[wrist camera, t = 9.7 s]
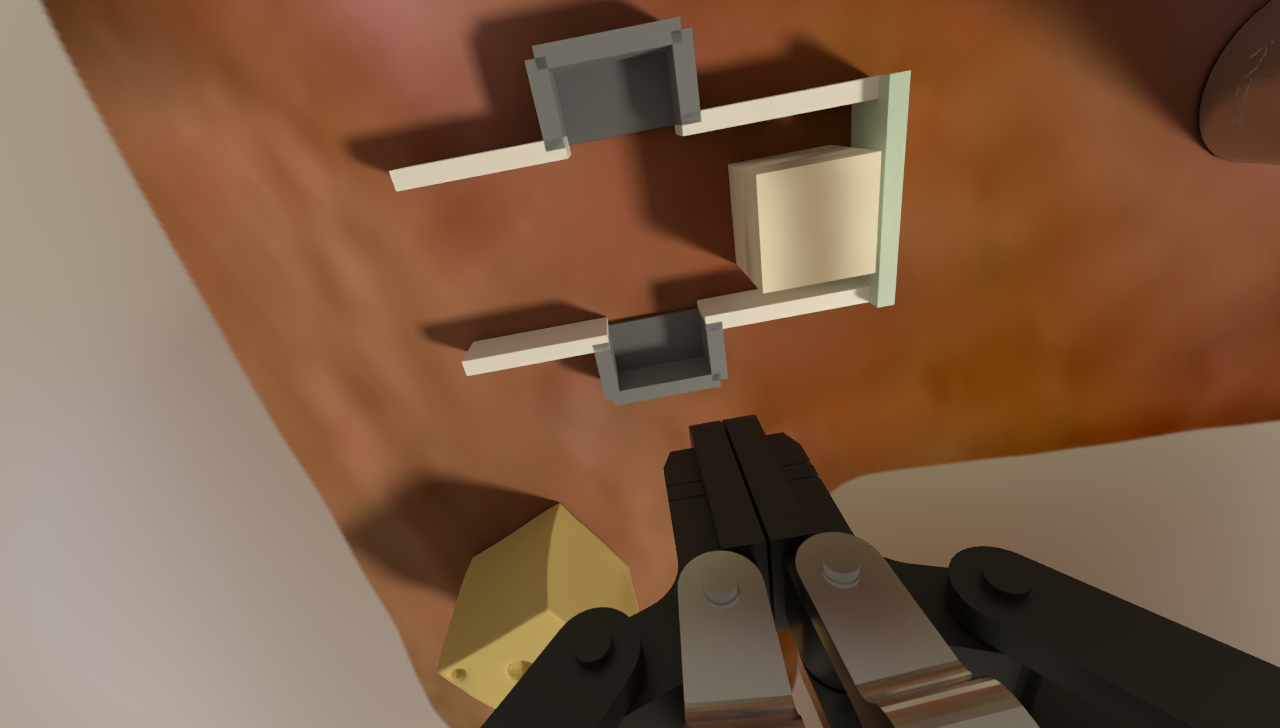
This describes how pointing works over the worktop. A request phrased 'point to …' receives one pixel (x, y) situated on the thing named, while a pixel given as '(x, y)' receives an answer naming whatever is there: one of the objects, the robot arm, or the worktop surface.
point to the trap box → (668, 95)
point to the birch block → (806, 216)
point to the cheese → (527, 601)
